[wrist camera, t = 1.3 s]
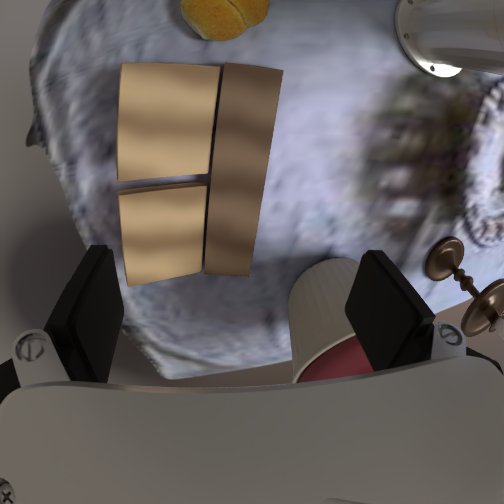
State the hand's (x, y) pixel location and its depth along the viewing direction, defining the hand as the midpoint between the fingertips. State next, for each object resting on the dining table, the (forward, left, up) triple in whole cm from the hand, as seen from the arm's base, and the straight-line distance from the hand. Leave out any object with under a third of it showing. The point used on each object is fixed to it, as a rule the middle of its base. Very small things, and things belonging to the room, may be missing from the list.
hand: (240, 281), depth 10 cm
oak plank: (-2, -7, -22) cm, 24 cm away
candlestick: (+13, +40, -25) cm, 49 cm away
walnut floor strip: (+4, +2, -25) cm, 25 cm away
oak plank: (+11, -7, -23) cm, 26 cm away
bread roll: (-16, -2, -25) cm, 30 cm away
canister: (+20, +18, -25) cm, 37 cm away
